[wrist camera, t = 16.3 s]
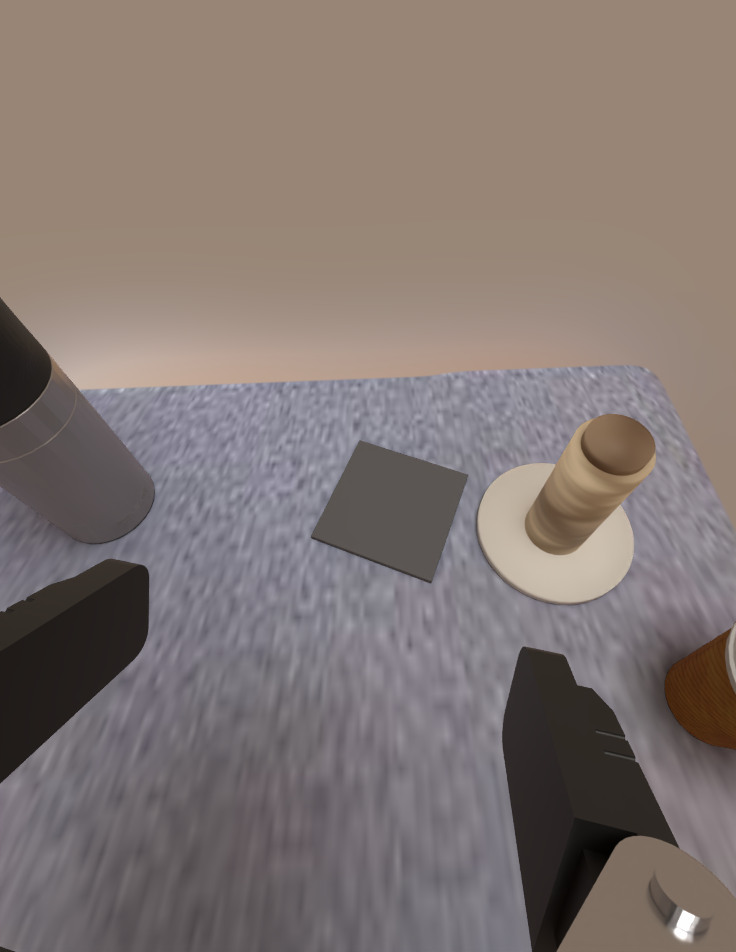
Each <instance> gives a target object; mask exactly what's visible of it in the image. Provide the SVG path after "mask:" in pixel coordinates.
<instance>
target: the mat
mask: <svg viewBox="0 0 736 952" xmlns="http://www.w3.org/2000/svg"><path fill="white" fill-rule="evenodd" d="M467 477H468V475H467V474H464V473H461V472H458V471H455V470H451V469H448V468H445V467H442V466H439V465H436V464H432V463H429V462H426V461H423V460H420V459H417V458H414V457H410V456H407V455H404V454H401V453H398V452H395V451H391V450H388V449H385V448H382V447H379V446H376V445H373V444H369V443H366V442H363V441H359V443H358V445H357V447H356V449H355V451H354V453H353V455H352V457H351V458H350V460H349V462H348V464H347V466H346V468H345V470H344V472H343V474H342V476H341V478H340V480H339V482H338V484H337V486H336V488H335V490H334V492H333V494H332V496H331V498H330V500H329V502H328V504H327V506H326V508H325V510H324V512H323V514H322V516H321V518H320V520H319V522H318V523H317V525H316V527H315V529H314V531H313V533H312V535H311V538H312V539H315V540H318V541H320V542H323V543H326V544H328V545H331V546H334V547H336V548H339V549H342V550H344V551H347V552H349V553H352V554H355V555H357V556H360V557H363V558H365V559H368V560H371V561H373V562H376V563H379V564H381V565H384V566H387V567H389V568H392V569H395V570H397V571H400V572H403V573H405V574H408V575H411V576H413V577H416V578H419V579H421V580H424V581H426V582H429V583H431V582H432V579H433V576H434V573H435V570H436V568H437V565H438V562H439V559H440V556H441V553H442V550H443V547H444V544H445V541H446V538H447V536H448V533H449V530H450V527H451V524H452V521H453V518H454V515H455V512H456V509H457V506H458V504H459V501H460V498H461V495H462V492H463V489H464V486H465V483H466V480H467Z"/></svg>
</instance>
